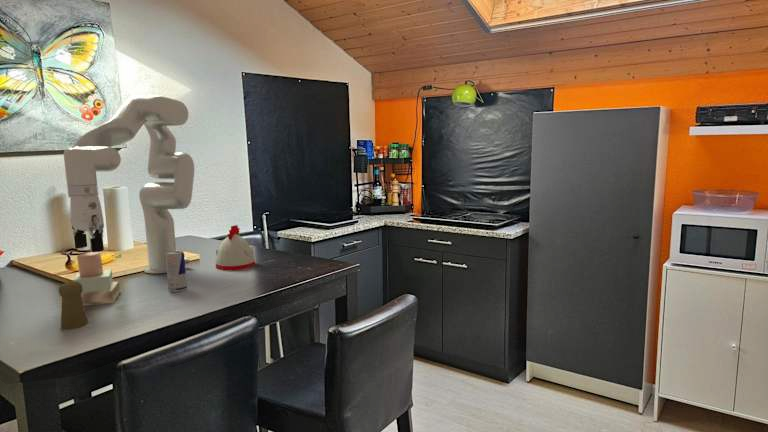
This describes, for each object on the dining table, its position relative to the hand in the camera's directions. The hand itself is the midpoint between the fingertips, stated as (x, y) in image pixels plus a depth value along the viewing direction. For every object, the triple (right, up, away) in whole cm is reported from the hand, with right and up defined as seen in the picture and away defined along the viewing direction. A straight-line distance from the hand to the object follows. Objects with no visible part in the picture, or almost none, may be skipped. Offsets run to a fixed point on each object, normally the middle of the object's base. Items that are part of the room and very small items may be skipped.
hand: (89, 249), depth 153 cm
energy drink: (+22, -13, +10) cm, 28 cm away
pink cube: (0, -7, +1) cm, 7 cm away
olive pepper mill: (+7, -18, -20) cm, 28 cm away
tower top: (+1, -11, +1) cm, 12 cm away
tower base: (+1, -15, +2) cm, 16 cm away
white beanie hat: (+31, -9, +40) cm, 52 cm away
